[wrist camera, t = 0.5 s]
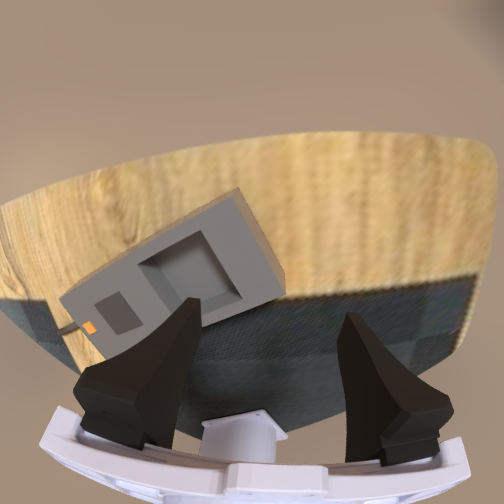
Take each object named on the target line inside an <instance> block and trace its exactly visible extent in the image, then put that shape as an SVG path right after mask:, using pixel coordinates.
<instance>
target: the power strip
mask: <svg viewBox="0 0 504 504" xmlns="http://www.w3.org/2000/svg"><path fill="white" fill-rule="evenodd" d="M285 294H286V289H285V273H284V271H283V269H282V267H281V265H280V263H279V261H278V259H277V258H276V256H275V254H274V252H273V250H272V248H271V246H270V244H269V243H268V241H267V239H266V237H265V235H264V233H263V231H262V230H261V228H260V226H259V224H258V222H257V220H256V219H255V217H254V215H253V213H252V211H251V209H250V208H249V206H248V204H247V202H246V200H245V198H244V197H243V195H242V193H241V191H240V189H239V188H236V189H234V190H232V191H230V192H228V193H226V194H224V195H222V196H220V197H219V198H217V199H215V200H213V201H211V202H209V203H208V204H206V205H204V206H202V207H200V208H198V209H197V210H195V211H193V212H191V213H189V214H188V215H186V216H184V217H182V218H181V219H179V220H177V221H175V222H174V223H172V224H170V225H168V226H167V227H165V228H163V229H161V230H160V231H158V232H156V233H155V234H153V235H151V236H150V237H148V238H146V239H145V240H143V241H141V242H140V243H138V244H136V245H135V246H133V247H131V248H130V249H128V250H127V251H125V252H123V253H122V254H120V255H119V256H117V257H115V258H114V259H112V260H111V261H109V262H107V263H106V264H104V265H103V266H101V267H100V268H98V269H97V270H95V271H93V272H92V273H90V274H89V275H87V276H86V277H84V278H83V279H81V280H80V281H78V282H77V283H76V284H75V285H73V286H72V287H71V288H70V289H69V290H68V291H67V292H66V293H65V294H64V295H63V296H61V297H60V298H59V300H60V302H61V303H62V305H63V306H64V307H65V309H66V310H67V312H68V313H69V314H70V316H71V317H72V318H73V320H74V322H72V323H71V324H69V325H67V326H65V327H63V328H61V329H59V330H58V334H59V335H63V334H65V333H67V332H69V331H71V330H74V329H76V328H78V327H79V328H80V329H81V330H82V331H83V333H84V334H85V335H86V336H87V338H88V339H89V340H90V341H91V343H92V344H93V345H94V346H95V347H96V349H97V350H98V351H99V352H100V353H101V354H102V356H103V357H104V358H105V359H106V360H108V359H110V358H112V357H114V356H116V355H118V354H120V353H122V352H124V351H126V350H127V349H129V348H131V347H132V346H134V345H135V344H137V343H138V342H140V341H141V340H143V339H144V338H145V337H147V336H148V335H149V334H151V333H152V332H153V331H154V330H155V329H156V328H158V327H159V326H160V325H161V324H162V323H163V322H164V321H165V320H166V319H167V318H168V317H169V316H170V315H171V314H172V313H173V312H174V311H175V310H176V309H177V308H178V307H179V306H180V305H181V304H182V303H183V302H184V301H185V300H186V299H187V298H188V297H192V298H199V299H200V300H201V319H202V327H204V326H207V325H210V324H212V323H215V322H218V321H220V320H223V319H226V318H228V317H231V316H233V315H236V314H238V313H241V312H244V311H246V310H249V309H251V308H254V307H256V306H259V305H261V304H264V303H266V302H269V301H271V300H273V299H276V298H278V297H281V296H283V295H285Z"/></svg>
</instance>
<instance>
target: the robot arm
mask: <svg viewBox="0 0 504 504" xmlns="http://www.w3.org/2000/svg"><path fill="white" fill-rule="evenodd" d="M201 332H202V319H201V300H200V299H199V298H192V297H188V298H187V299H186V300H185V301H184V302H183V303H182V304H181V305H180V306H179V307H178V308H177V309H176V310H175V311H174V312H173V313H172V314H171V315H170V316H169V317H168V318H167V319H166V320H165V321H164V322H163V323H162V324H161V325H160V326H159V327H158V328H156V329H155V330H154V331H153V332H152V333H151V334H149V335H148V336H147V337H145V338H144V339H143V340H141V341H140V342H138V343H137V344H135V345H134V346H132V347H131V348H129V349H127V350H126V351H124V352H122V353H120V354H118V355H116V356H114V357H112V358H110V359H108V360H106V361H103V362H101V363H98V364H95V365H92V366H90V367H86V368H85V370H84V371H83V373H82V374H81V376H80V378H79V380H78V382H77V383H76V385H75V387H74V389H73V393H74V395H75V397H76V399H77V401H78V402H79V404H80V405H81V406H82V408H83V409H84V411H85V414H84V416H83V417H82V416H81V415H79V414H77V413H76V412H73V411H71V410H68V409H66V408H64V407H62V406H58V407H57V409H56V411H55V413H54V415H53V417H52V419H51V421H50V423H49V425H48V427H47V429H46V431H45V433H44V435H43V437H42V439H41V442H40V443H39V445H40V447H41V448H43V449H44V450H45V451H46V452H47V453H48V454H50V455H51V456H52V457H53V458H55V459H56V460H57V461H58V462H60V463H61V464H62V465H64V466H66V467H68V468H69V469H72V470H73V471H75V472H78V473H80V474H82V475H84V476H86V477H88V478H90V479H92V480H95V481H97V482H99V483H101V484H104V485H106V486H108V487H110V488H113V489H115V490H118V491H120V492H123V493H125V494H128V495H131V496H133V497H136V498H139V499H142V500H145V501H148V502H151V503H154V504H410V503H413V502H417V501H420V500H423V499H426V498H429V497H432V496H435V495H438V494H440V493H443V492H445V491H447V490H449V489H450V488H452V487H454V486H455V485H457V484H459V483H461V482H462V481H464V480H466V479H467V478H469V477H470V476H471V472H470V468H469V465H468V460H467V457H466V453H465V449H464V446H463V443H462V439H461V437H456V438H452V439H448V440H445V441H442V442H440V443H438V441H437V438H439V437H440V434H439V429H440V428H441V427H442V426H444V425H445V423H447V422H448V420H449V419H450V418H451V417H452V415H453V413H454V409H453V407H452V404H451V401H450V398H449V396H448V395H446V394H444V393H442V392H440V391H438V390H437V389H435V388H433V387H431V386H429V385H428V384H427V383H425V382H424V381H422V380H421V379H419V378H418V377H417V376H416V375H414V374H413V373H412V372H410V371H409V370H408V369H407V368H406V367H405V366H404V365H402V364H401V363H400V362H399V361H398V360H397V359H396V358H395V357H394V356H393V355H392V354H391V353H390V351H389V350H388V349H387V348H386V347H385V346H384V345H383V344H382V342H381V341H380V340H379V339H378V338H377V336H376V335H375V334H374V332H373V331H372V330H371V329H370V327H369V326H368V325H367V323H366V322H365V321H364V319H363V318H362V317H361V316H360V314H359V313H351V312H347V314H346V317H345V320H344V323H343V325H342V328H341V331H340V334H339V337H338V339H337V352H338V361H339V367H340V372H341V377H342V382H343V388H344V393H345V400H346V415H347V416H346V418H347V438H346V440H347V441H346V457H345V463H337V464H276V441H279V440H284V439H287V438H288V435H287V434H286V433H285V432H284V431H283V430H282V429H281V428H280V427H279V426H278V424H277V423H276V422H275V421H274V420H273V419H272V418H271V417H270V416H269V415H268V413H267V412H266V411H265V410H257V411H252V412H248V413H243V414H239V415H234V416H229V417H224V418H218V419H213V420H207V421H202V425H203V426H204V427H205V428H204V433H203V437H202V441H201V446H200V451H199V454H198V455H194V454H189V453H184V452H179V451H175V450H172V443H173V436H174V431H175V425H176V420H177V415H178V410H179V405H180V401H181V396H182V392H183V388H184V385H185V381H186V379H187V376H188V373H189V370H190V368H191V365H192V362H193V359H194V357H195V354H196V351H197V348H198V345H199V341H200V336H201Z"/></svg>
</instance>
